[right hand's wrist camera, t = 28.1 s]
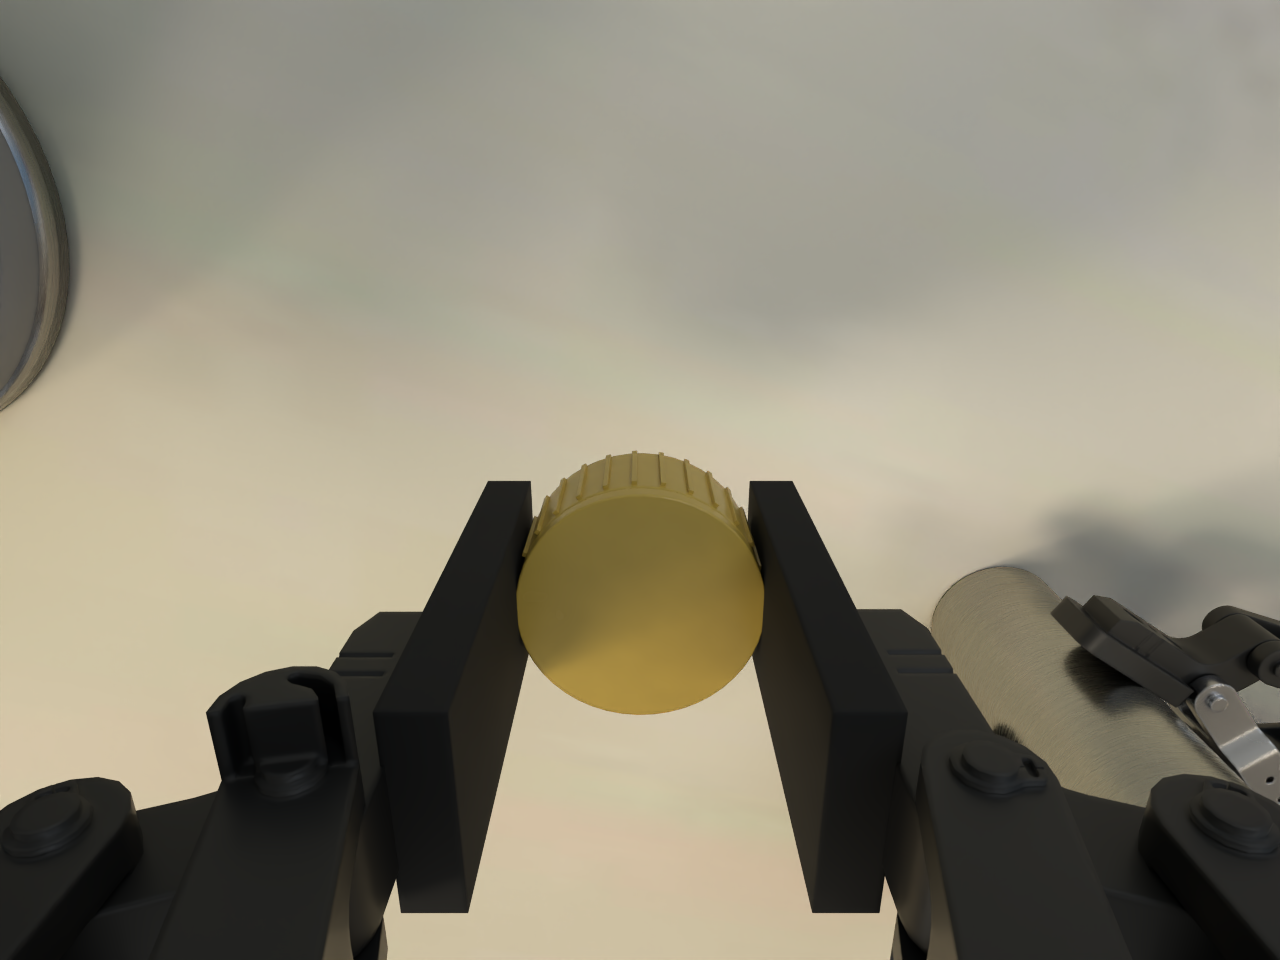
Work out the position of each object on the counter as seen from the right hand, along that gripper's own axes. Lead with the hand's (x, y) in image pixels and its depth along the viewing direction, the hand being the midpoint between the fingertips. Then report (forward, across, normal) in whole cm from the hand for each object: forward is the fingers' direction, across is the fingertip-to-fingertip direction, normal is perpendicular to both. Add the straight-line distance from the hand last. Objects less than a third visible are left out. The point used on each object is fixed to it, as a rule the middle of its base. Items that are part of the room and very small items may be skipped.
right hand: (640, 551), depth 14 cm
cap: (-2, 0, 0) cm, 2 cm away
